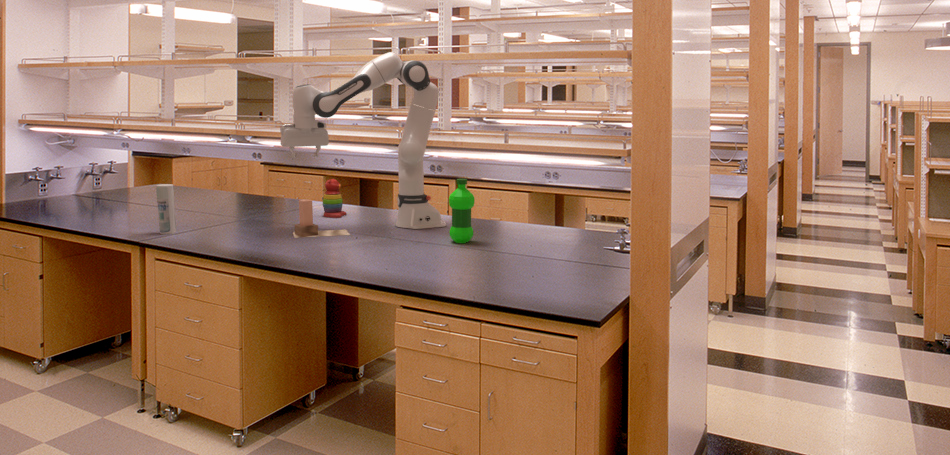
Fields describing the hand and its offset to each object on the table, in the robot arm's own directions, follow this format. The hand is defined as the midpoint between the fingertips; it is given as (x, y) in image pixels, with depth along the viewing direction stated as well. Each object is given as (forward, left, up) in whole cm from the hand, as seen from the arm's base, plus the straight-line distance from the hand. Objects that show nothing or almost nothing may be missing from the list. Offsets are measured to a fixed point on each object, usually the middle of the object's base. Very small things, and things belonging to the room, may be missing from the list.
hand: (305, 157), depth 296 cm
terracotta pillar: (+2, +17, -26) cm, 31 cm away
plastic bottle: (-56, +42, -31) cm, 77 cm away
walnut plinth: (+2, +17, -30) cm, 34 cm away
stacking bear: (-15, -33, -31) cm, 48 cm away
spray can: (+56, -8, -31) cm, 65 cm away
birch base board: (-4, +16, -31) cm, 35 cm away
